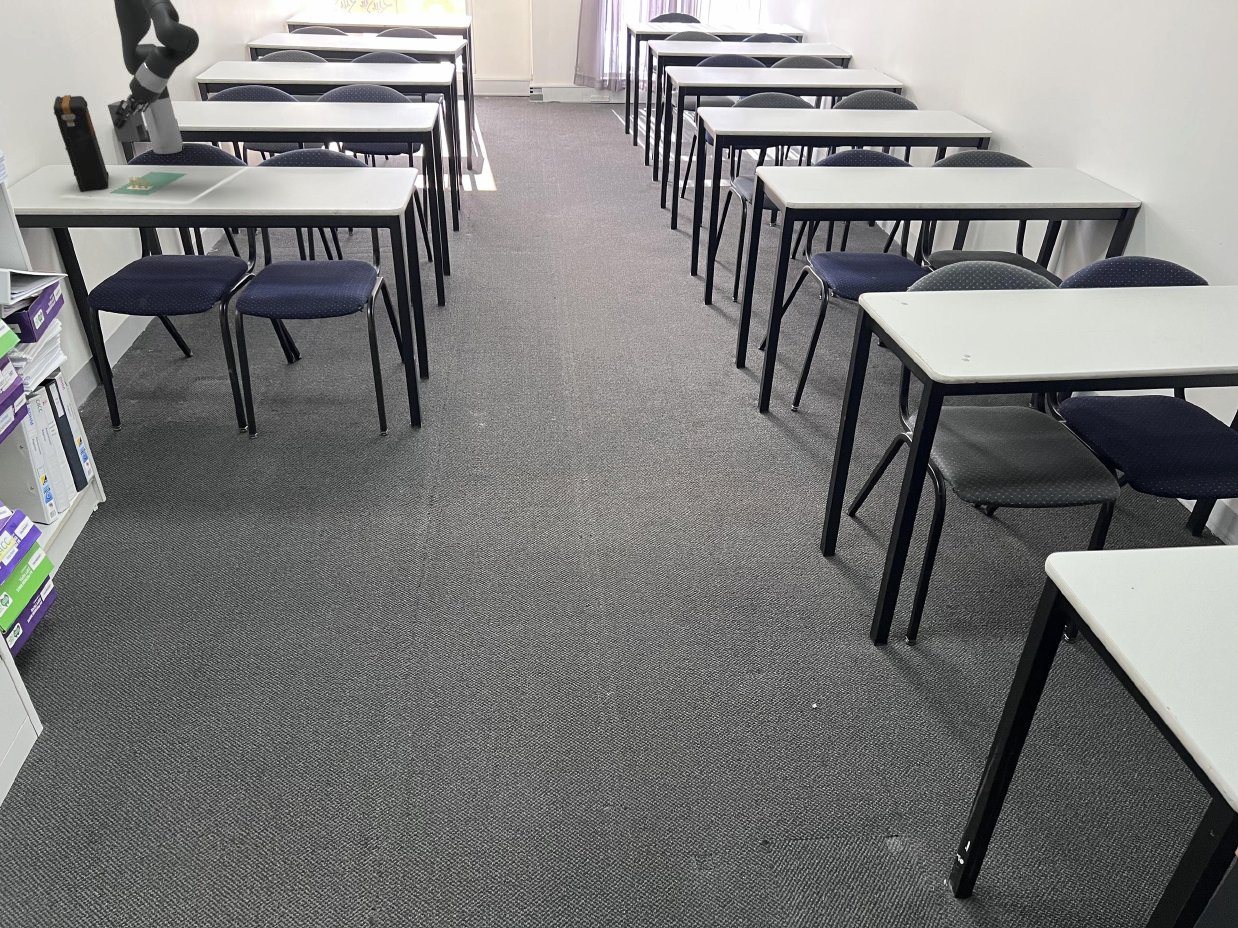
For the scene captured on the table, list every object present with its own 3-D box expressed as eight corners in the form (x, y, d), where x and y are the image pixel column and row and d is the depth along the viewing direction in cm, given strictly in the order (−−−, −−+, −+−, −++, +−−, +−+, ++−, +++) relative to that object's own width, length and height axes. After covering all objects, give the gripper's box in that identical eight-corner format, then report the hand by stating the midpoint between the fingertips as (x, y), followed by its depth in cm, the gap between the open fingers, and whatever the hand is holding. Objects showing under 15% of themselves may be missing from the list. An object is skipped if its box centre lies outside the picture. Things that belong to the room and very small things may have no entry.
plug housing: (129, 137, 264) (118, 101, 259) (148, 137, 264) (138, 101, 258) (118, 141, 260) (107, 105, 254) (137, 142, 259) (127, 105, 254)
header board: (151, 175, 282) (148, 162, 280) (187, 177, 281) (184, 164, 279) (110, 196, 264) (106, 182, 262) (148, 198, 263) (144, 185, 260)
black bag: (79, 181, 275) (51, 95, 261) (110, 178, 278) (85, 93, 264) (77, 196, 264) (48, 107, 250) (110, 192, 267) (83, 104, 253)
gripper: (152, 66, 257) (125, 109, 264) (123, 75, 245) (96, 120, 253) (174, 86, 259) (147, 128, 267) (147, 96, 247) (119, 140, 255)
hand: (123, 124), depth 260 cm, fingers closed on plug housing, 5 cm apart
